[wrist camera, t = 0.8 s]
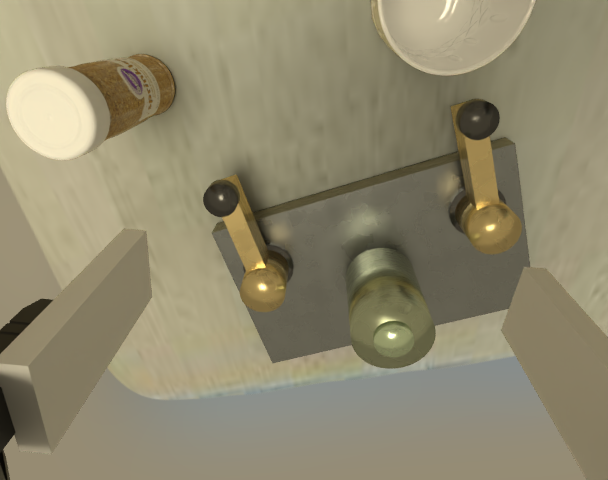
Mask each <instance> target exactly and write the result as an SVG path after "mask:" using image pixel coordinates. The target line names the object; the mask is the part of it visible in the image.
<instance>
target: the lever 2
mask: <svg viewBox="0 0 608 480" xmlns="http://www.w3.org/2000/svg"><path fill="white" fill-rule="evenodd" d="M451 112H452V117H453V123H454V128H455V134H456V139H457V145H458V151H459V156H460V162H461V167H462V173H463V178H464V184H465V190H466V195H465V196H464V197H463V198H462V199H461V200H460V201H459V202H458V204H457V206H456V209H455V218H456V221H457V223H458V224H459V226H460V227H461V229H462V230H463V232H464V233H465V234H466V236H467V237H468V239H469V240H470V242H471V243H472V245H473V246H474V247H475V249H477V250H478V251H480V252H482V253H485V254H499V253H502V252H504V251H507V250H508V249H510V248H511V247H512V246H513V245H514V244H515V243H516V242H517V241H518V239H519V237H520V235H521V232H522V225H521V221H520V219H519V217H518V216H517V215H516V214H515V213H514V212H513V211H512V210H511V209H510V208H509V207H508V206H507V205H506V204H505V203H504V202H503V201H502V200H501V199H500V198H499V196H498V189H497V183H496V176H495V169H494V162H493V155H492V148H491V141H490V135H491V134H492V133H493V132H494V131H495V130H496V128H497V126H498V124H499V119H500V117H499V112H498V110H497V108H496V107H495V106H494V105H493V104H491V103H489V102H487V101H485V100H482V99H472V100H469V101H466V102H463V103H460V104H457V105H454V106H451Z"/></svg>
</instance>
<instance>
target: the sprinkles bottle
mask: <svg viewBox="0 0 608 480" xmlns="http://www.w3.org/2000/svg"><path fill="white" fill-rule="evenodd" d="M174 95H175V85H174V81H173V78H172V76H171V73H170V71H169V70H168V68H167V67H166V66H165V65H164V64H163V63H162V62H161V61H159V60H158V59H156V58H154V57H152V56H149V55H145V54H137V55H133V56H130V57H129V58H115V59H108V60H102V61H96V62H92V63H85V64H80V65H77V66H74V67H64V66H49V67H42V68H37V69H32V70H29V71H26V72H24V73H22V74H21V75H19V76H18V77H17V78H16V79H15V80H14V81H13V82H12V84H11V86H10V88H9V90H8V94H7V99H6V107H7V113H8V117H9V120H10V123H11V125H12V127H13V129H14V130H15V132H16V134H17V135H18V136H19V138H20V139H21V140H22V141H23V142H24V143H25V144H26V145H27V146H28V147H30V148H31V149H32V150H34V151H35V152H37V153H39V154H41V155H43V156H45V157H48V158H51V159H56V160H71V159H75V158H78V157H80V156H82V155H85V154H87V153H89V152H91V151H93V150H94V149H96V148H97V147H99V146H100V145H101V144H102V143H103V142H104V141H105V140H107V139H109V138H112V137H115V136H118V135H120V134H122V133H123V132H125V131H127V130H129V129H131V128H133V127H135V126H137V125H138V124H140V123H142V122H144V121H145V120H147V119H148V118H149V117H151V116H153V115H158V114H160V113H163V112H164V111H166V110H167V109H168V108H169V107H170V105H171V103H172V101H173V98H174Z"/></svg>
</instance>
